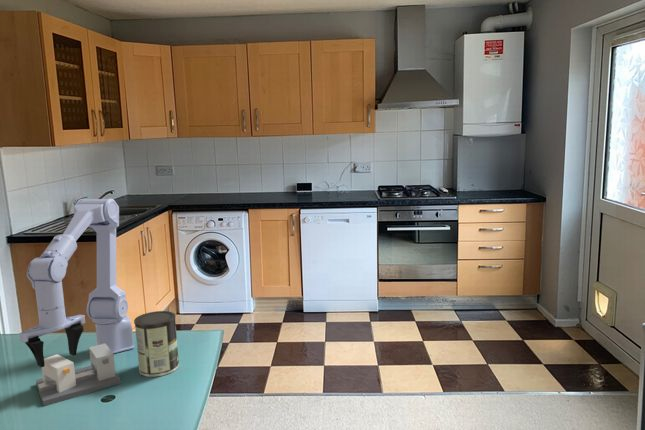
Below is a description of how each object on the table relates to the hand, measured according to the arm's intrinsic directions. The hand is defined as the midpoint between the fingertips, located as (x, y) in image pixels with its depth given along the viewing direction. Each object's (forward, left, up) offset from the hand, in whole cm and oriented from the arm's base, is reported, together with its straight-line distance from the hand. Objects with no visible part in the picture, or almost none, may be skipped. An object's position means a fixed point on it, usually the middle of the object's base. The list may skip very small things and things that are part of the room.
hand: (57, 360), depth 124 cm
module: (0, 0, -6) cm, 6 cm away
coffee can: (-23, +4, -8) cm, 25 cm away
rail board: (-4, 0, -8) cm, 8 cm away
